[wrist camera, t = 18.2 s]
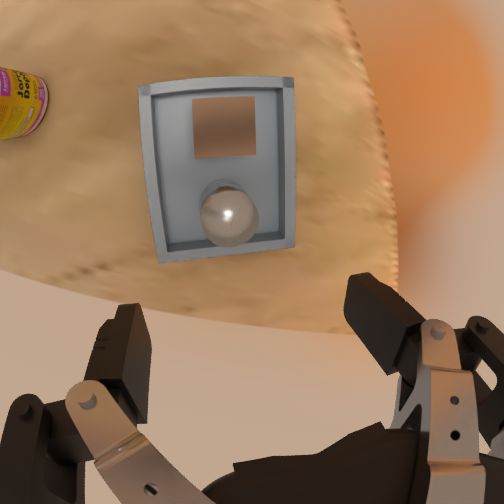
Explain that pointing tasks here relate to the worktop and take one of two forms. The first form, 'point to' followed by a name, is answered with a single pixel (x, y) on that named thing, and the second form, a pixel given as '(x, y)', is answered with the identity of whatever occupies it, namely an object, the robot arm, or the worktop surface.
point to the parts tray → (217, 164)
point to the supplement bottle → (20, 103)
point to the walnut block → (224, 126)
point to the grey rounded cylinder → (227, 214)
